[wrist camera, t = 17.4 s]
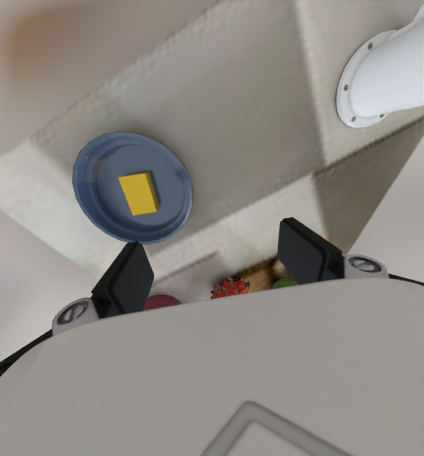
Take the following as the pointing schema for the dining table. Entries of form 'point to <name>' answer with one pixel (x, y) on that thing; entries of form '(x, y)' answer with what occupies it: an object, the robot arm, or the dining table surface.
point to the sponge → (139, 193)
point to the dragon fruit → (230, 288)
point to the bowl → (114, 195)
